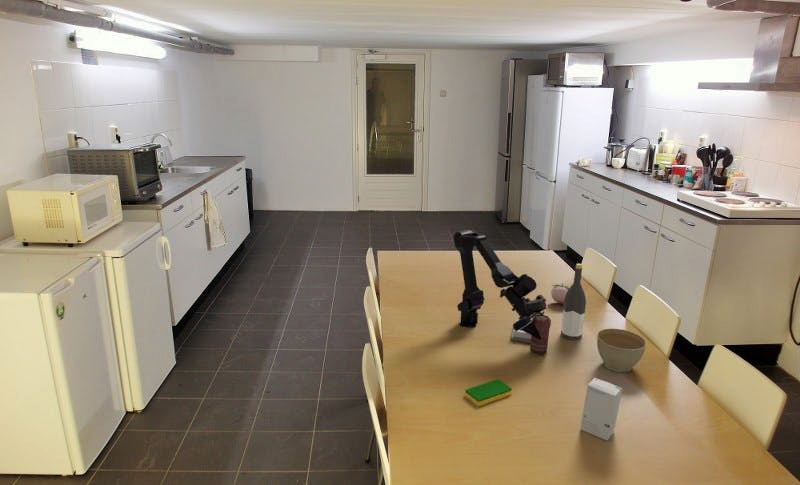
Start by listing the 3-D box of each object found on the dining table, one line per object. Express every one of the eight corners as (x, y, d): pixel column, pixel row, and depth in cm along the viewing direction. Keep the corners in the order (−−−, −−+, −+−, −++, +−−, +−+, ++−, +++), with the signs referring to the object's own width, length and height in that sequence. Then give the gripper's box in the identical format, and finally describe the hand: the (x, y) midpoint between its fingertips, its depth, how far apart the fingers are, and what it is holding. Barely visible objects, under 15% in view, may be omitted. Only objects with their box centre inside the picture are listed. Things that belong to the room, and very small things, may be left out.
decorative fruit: (548, 305, 243) (550, 285, 240) (551, 299, 250) (553, 279, 247) (570, 309, 239) (572, 288, 236) (572, 302, 247) (574, 282, 244)
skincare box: (579, 430, 155) (585, 384, 151) (587, 420, 160) (593, 376, 155) (608, 442, 150) (615, 395, 146) (616, 432, 155) (622, 386, 150)
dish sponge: (512, 395, 173) (512, 388, 172) (478, 407, 166) (478, 400, 166) (497, 385, 179) (498, 378, 178) (464, 396, 172) (464, 389, 172)
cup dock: (510, 339, 210) (511, 331, 209) (514, 326, 222) (515, 318, 221) (545, 344, 206) (545, 336, 205) (546, 330, 218) (547, 322, 217)
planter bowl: (620, 382, 181) (624, 353, 178) (583, 361, 194) (587, 333, 191) (652, 371, 188) (657, 343, 185) (615, 351, 201) (619, 325, 198)
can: (547, 356, 197) (551, 321, 193) (530, 354, 198) (533, 319, 194) (546, 349, 203) (550, 315, 199) (529, 347, 204) (533, 313, 200)
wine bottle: (583, 333, 216) (591, 262, 207) (580, 341, 209) (589, 269, 200) (562, 329, 219) (569, 259, 211) (559, 337, 212) (566, 265, 204)
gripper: (523, 298, 188) (551, 335, 185) (543, 283, 203) (569, 317, 200) (501, 313, 195) (527, 349, 192) (522, 297, 210) (547, 331, 207)
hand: (543, 336), depth 197 cm, fingers closed on can, 6 cm apart
